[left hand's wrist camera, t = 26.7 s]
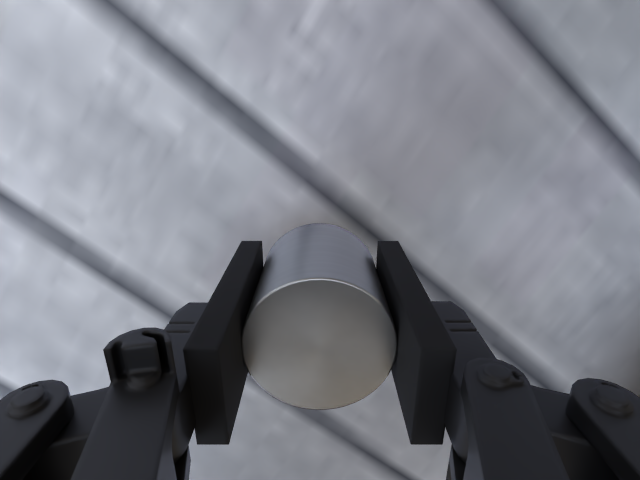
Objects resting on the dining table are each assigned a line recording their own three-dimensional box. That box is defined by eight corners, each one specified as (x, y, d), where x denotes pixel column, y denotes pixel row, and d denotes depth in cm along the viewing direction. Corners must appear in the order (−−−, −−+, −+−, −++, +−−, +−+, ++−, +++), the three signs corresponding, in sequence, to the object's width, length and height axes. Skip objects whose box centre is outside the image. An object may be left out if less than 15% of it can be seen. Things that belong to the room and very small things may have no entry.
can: (248, 300, 15) (218, 381, 11) (289, 204, 14) (275, 252, 10) (345, 337, 16) (354, 428, 11) (394, 249, 15) (427, 314, 10)
